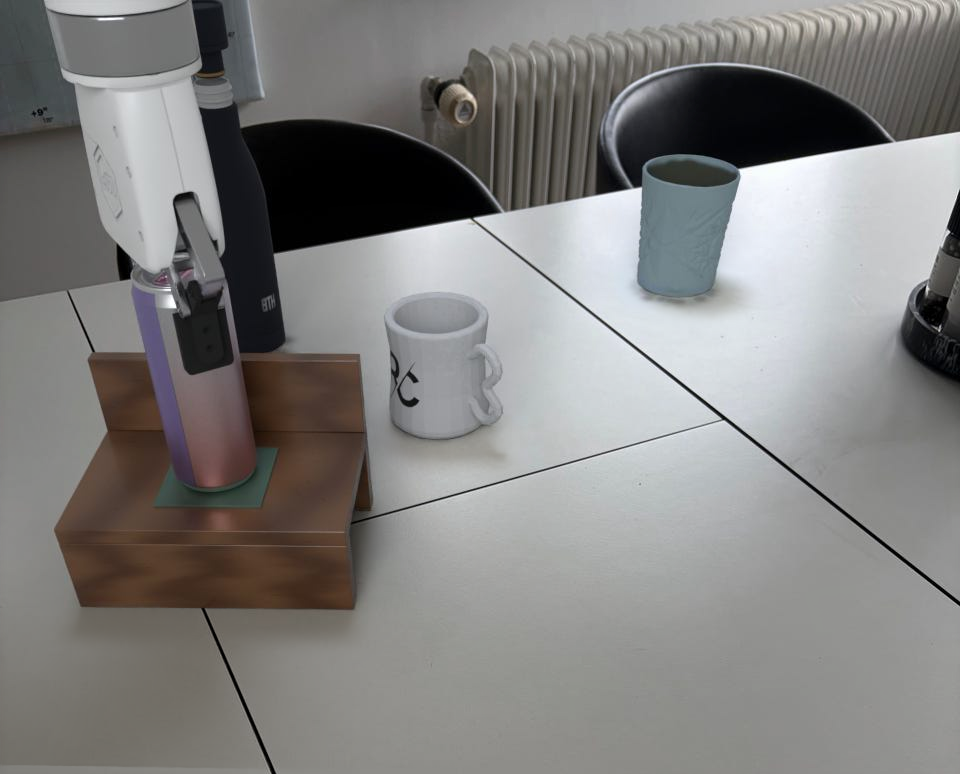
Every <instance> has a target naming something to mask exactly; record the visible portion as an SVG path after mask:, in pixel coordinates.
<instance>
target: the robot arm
mask: <svg viewBox="0 0 960 774" xmlns="http://www.w3.org/2000/svg"><path fill="white" fill-rule="evenodd" d="M43 3H44V7H45V12H46V15H47V20H48V24H49V27H50V32H51V36H52V39H53V43H54V47H55V51H56V56H57V60H58V63H59V66H60V72H61V75H62V78H63V79H64V80H66V81H67V82H69V83H70V84H74V88H75V89H74V91H75V98H76V104H77V109H78V115H79V116H78V117H79V122H80V127H81V131H82V137H83V142H84V147H85V152H86V157H87V162H88V166H89V167H88V168H89V170H90V176H91V180H92V181H91V182H92V185H93V191H94V195H95V196H94V197H95V200H96V205H97V210H98V213H99V214H98V215H99V218H100V221H101V224H102V226H103V228H104V229H105V231H106V233H107V234H108V235H109V236H110V237H111V238H112V239H113V241H115V243H116V244H117V245H118V246H119V247H120V248H121V249H122V250H123V251H124V252H125V253H126V254H127V255H128V256H129V257H130V260H131V264H132V267H133V269H134V268H135V267H136V266H137V265H138V264H139V265H140V266H141V267H142V268H143V269H145V270H146V271H148V272H150V273H152V274H158V273H160V272H161V269H164V270H165V273H166V276H167V279H168V283H169V286H170V289H171V292H172V295H173V299H174V302H175V305H176V308H177V311H178V312H177V313H173V314H172V316H173V320H174V325H175V330H176V334H177V339H178V344H179V348H180V353H181V358H182V362H183V367H184V370H185V371H186V372H187V373H188V374H189V375H196V374H199V373H203V372H207V371H210V370H214V369H217V368H221V367H224V366H228V365H231V364H232V363H233V362H234V355H233V349H232V343H231V338H230V332H229V327H228V321H227V315H226V310H225V307H226V303H225V298H224V295H223V291H222V290H223V289H224V287H223V283H224V280H225V274H224V270H223V267H222V265H221V262H220V260H219V258H220V257H221V256H222V254H223V252H224V250H225V241H224V231H223V223H222V216H221V210H220V204H219V199H218V193H217V188H216V183H215V178H214V173H213V168H212V163H211V159H210V154H209V150H208V145H207V141H206V136H205V132H204V128H203V123H202V117H201V114H200V111H199V107H198V103H197V99H196V93H195V91H194V82H193V80H192V76H193V75H195V73H197V72H198V71H199V70H200V69H201V68H202V62H201V56H200V50H199V44H198V38H197V32H196V26H195V20H194V14H193V8H192V2H191V0H43ZM182 250H186V253H188V254H189V256H190V258H189V259H185V260H180V261H176V262H173V258H174V253H178V251H182ZM190 269H194V278H195V279H194V280H192V281H189V282H188V285H187V289H186V292H185V289H184V286H183V283H182V279H181V276H180V273H179V272H182V271H186V270H190Z"/></svg>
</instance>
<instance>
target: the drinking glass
mask: <svg viewBox="0 0 960 774" xmlns="http://www.w3.org/2000/svg"><path fill="white" fill-rule="evenodd" d="M641 177H642V178H641V200H640V201H641V202H640V206H641V209H640V221H639V225H640V230H639V237H640V238H639V240H638V245H639V246H638V259H639V260H638V263H637V273H636V277H637V282H638V284H639V285H640V287H641V288H643V289H645V290H646V291H649V292H650V293H653V294H656V295H661V296H666V297H674V298H685V297H686V298H687V297H695V296H699V295H702V294H705V293H707V292H708V291H710V290H711V289H712V287H713V286H714V283H715V280H716V276H717V271H718V267H719V263H720V260H721V255H722V253H721V252H722V248H723V246H724V241H725V238H726V232H727V229H728V225H729V223H730V219H731V215H732V211H733V204H734V202H735V200H736V198H737V197H736V196H737V193H738V189H739V185H740V182H741V178H742V176H741V172H740V170H739V168H738V167H736V166H735V165H734V164H732V163H730V162H727V161H725V160H722V159H719V158H714V157H711V156H705V155H697V154H682V153H681V154H679V153H678V154H670V155H669V154H667V155H663V156H658V157H654V158H651V159H649V160H648V161H646V162H645V163H644V164H643V166H642V176H641Z"/></svg>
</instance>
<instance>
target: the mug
mask: <svg viewBox="0 0 960 774" xmlns="http://www.w3.org/2000/svg"><path fill="white" fill-rule="evenodd" d="M383 319H384V326H385V332H386V336H387V342H388V347H389V360H390V361H389V362H390V385H389V400H388V401H389V406H388V407H389V408H388V409H389V414H390V418H391V420H392V421H393V422H394V425H396V426H397V427H398V428H400V429H401V430H402V431H404V432H405V433H407V434H410V435H412V436H414V437H417V438H421V439H427V440H429V439H430V440H448V439H454V438H459V437H463V436H466V435H468V434H470V433H472V432H475V430H477V429H478V428H480V427H481V426H482V425H485V426H493V425H494V424H496V423H498V422H499V421H500V420H501V418H502V416H503V414H504V408H503V407H504V406H503V404H502V402H501V400H500V398H499V396H498V395H497V394H496V392H495V390H494V388H493V387H494V386H496V385H497V384H498V383H499V382H500V381H501V379H502V376H503V374H504V372H503V371H504V370H503V364H502V362H501V360H500V357H499V356H498V354H497V353H496V352H495V351H494V349H493V348H492V346H489V345H488V344H487V343H486V341H487V334H488V333H487V332H488V325H489V312H488V309H487V308H486V306H485V305H484V304H483V303H481V302H480V301H479V300H477V299H475V298H474V297H470V296H468V295H465V294H461V293H457V292H456V293H455V292H451V291H450V292H447V291H446V292H445V291H430V292H429V291H427V292H420V293H415V294H411V295H408V296H404V297H402V298H399V299H398V300H396V301H393V302H392V304H390V306H388V307H387V308H386V310H385V312H384V315H383ZM486 361H487V362H488V364H489V367H490V368H491V373H490V375H488V376H487V374H486V373H487V372H486ZM490 407H491V409H492V412H491V413H489V411H490Z"/></svg>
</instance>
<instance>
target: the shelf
mask: <svg viewBox="0 0 960 774" xmlns="http://www.w3.org/2000/svg"><path fill="white" fill-rule="evenodd" d="M239 354H240V360H241V366H242V372H243V377H244V383H245V389H246V395H247V401H248V406H249V412H250V418H251V424H252V430H253V435H254V441H255V447H256V453H257V459H258V461H257V465H256V468H255V470H254V472H253V474H252V475H251V477H250V478H249V479H248V480H247V481H246V482H244V483H243V484H241V485H239V486H237V487H235V488H232V489H229V490H225V491H220V492H201V491H197V490H194V489H191V488H189V487H187V486H186V485H184V484H183V483H182V482H181V481H180V480H179V479H178V478H177V477H176V476H175V474H174V471H173V467H172V462H171V458H170V454H169V450H168V446H167V441H166V437H165V433H164V429H163V425H162V420H161V416H160V412H159V408H158V404H157V399H156V395H155V391H154V387H153V383H152V378H151V374H150V370H149V366H148V362H147V357H146V353H145V351H144V352H136V351H135V352H134V351H133V352H131V351H130V352H128V351H127V352H126V351H125V352H123V351H119V352H118V351H93V352H91V353H90V354H89V356H88V358H87V363H88V368H89V370H90V374H91V378H92V382H93V385H94V388H95V392H96V395H97V398H98V402H99V406H100V411H101V414H102V416H103V419H104V422H105V427H106V430H107V431H106V432H105V434H104V437H103V438H102V440H101V441H100V444H99V445H98V447H97V449H96V451H95V453H94V455H93V457H92V459H91V460H90V462H89V464H88V466H87V467H86V469H85V471H84V473H83V475H82V476H81V478H80V481H79V482H78V484H77V486H76V488H75V489H74V492H73V494H72V495H71V497H70V498H69V501H68V503H67V504H66V505H65V508H64V510H63V512H62V514H61V515H60V517H59V519H58V521H57V522H56V525H55V526H54V528H53V532H54V535H55V537H56V541H57V543H58V546H59V549H60V551H61V554H62V558H63V560H64V563H65V565H66V569H67V571H68V574H69V578H70V580H71V583H72V586H73V589H74V591H75V595H76V597H77V600H78V603H79V606H80V607H82V608H83V607H84V608H165V609H168V608H172V609H173V608H175V609H251V610H252V609H254V610H255V609H261V610H263V609H264V610H265V609H266V610H269V609H270V610H340V611H341V610H343V611H344V610H349V611H351V610H352V611H353V610H354V609H355V605H356V601H357V600H356V599H357V592H356V590H357V589H356V581H355V574H354V573H355V572H354V564H353V555H352V554H353V553H352V546H351V536H350V529H351V526H352V525H351V524H352V519H353V513H354V511H371V510H372V506H373V501H374V496H373V485H372V484H373V483H372V474H371V471H372V470H371V462H370V451H369V440H368V429H367V418H366V417H367V416H366V405H365V396H364V394H365V393H364V385H363V374H362V373H363V372H362V363H361V354H360V353H317V352H316V353H315V352H314V353H308V352H307V353H306V352H305V353H301V352H300V353H298V352H297V353H296V352H295V353H294V352H291V353H289V352H266V353H239Z"/></svg>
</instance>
